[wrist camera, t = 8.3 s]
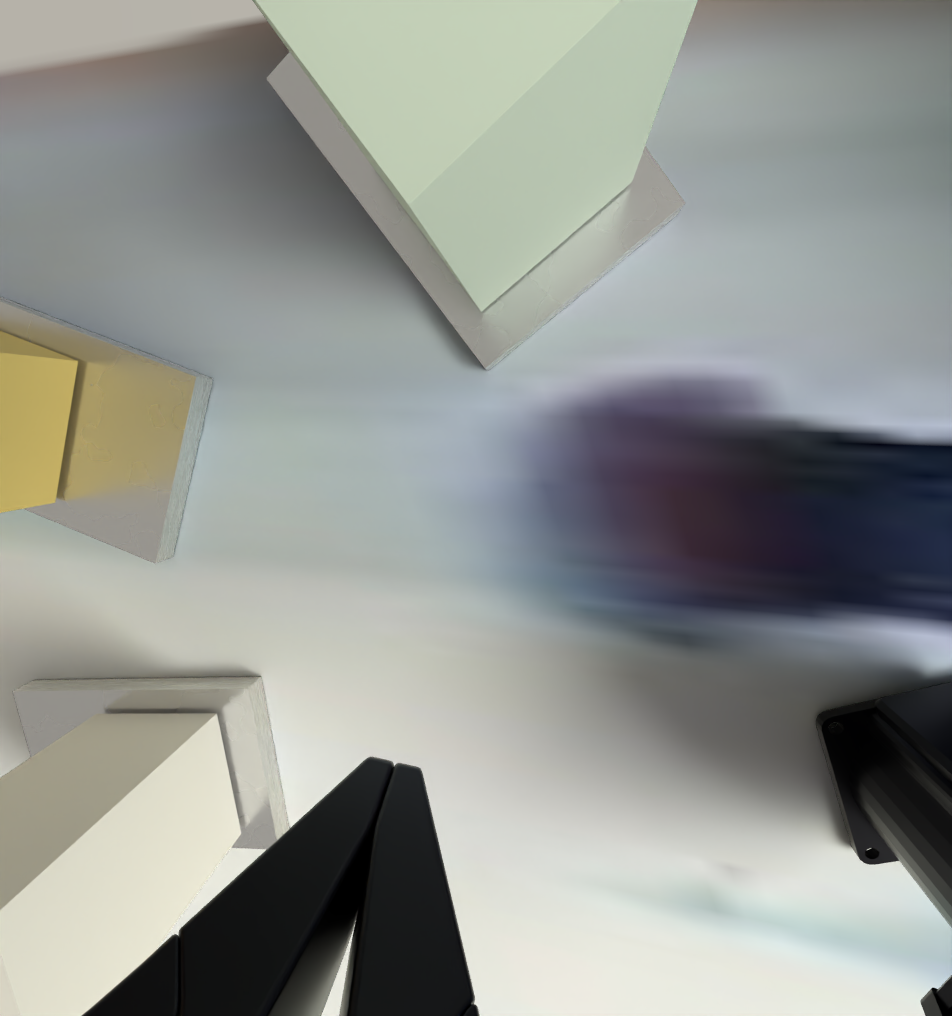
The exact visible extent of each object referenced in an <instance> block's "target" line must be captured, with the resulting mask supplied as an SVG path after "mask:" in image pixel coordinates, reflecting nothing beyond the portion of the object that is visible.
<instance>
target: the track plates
mask: <svg viewBox="0 0 952 1016" xmlns="http://www.w3.org/2000/svg"><path fill="white" fill-rule="evenodd" d="M266 79H267V80H268V82H269V83H270V84H271V86H272V87H273V88H274V90H275V91H276V92H277V94H278V95H279V96H280V98H281V99H282V100H283V102H284V103H285V104H286V106H287V107H288V108H289V110H290V111H291V112H292V114H293V115H294V116H295V118H296V119H297V120H298V122H299V123H300V124H301V126H302V127H303V128H304V129H305V131H306V132H307V133H308V135H309V136H310V137H311V139H312V140H313V141H314V143H315V144H316V145H317V147H318V148H319V149H320V151H321V152H322V153H323V155H324V156H325V157H326V159H327V160H328V161H329V163H330V164H331V165H332V167H333V168H334V169H335V171H336V172H337V173H338V175H339V176H340V177H341V179H342V180H343V181H344V182H345V184H346V185H347V186H348V188H349V189H350V190H351V192H352V193H353V194H354V196H355V197H356V198H357V200H358V201H359V202H360V204H361V205H362V206H363V208H364V209H365V210H366V212H367V213H368V214H369V216H370V217H371V218H372V220H373V221H374V222H375V224H376V225H377V226H378V228H379V229H380V230H381V231H382V233H383V234H384V235H385V237H386V238H387V239H388V241H389V242H390V243H391V245H392V246H393V247H394V249H395V250H396V251H397V253H398V254H399V255H400V257H401V258H402V259H403V261H404V262H405V263H406V265H407V266H408V267H409V269H410V270H411V271H412V273H413V274H414V275H415V277H416V278H417V279H418V280H419V282H420V283H421V284H422V286H423V287H424V288H425V290H426V291H427V292H428V294H429V295H430V296H431V298H432V299H433V300H434V302H435V303H436V304H437V306H438V307H439V308H440V310H441V311H442V312H443V314H444V315H445V316H446V318H447V319H448V320H449V322H450V323H451V324H452V326H453V327H454V328H455V330H456V331H457V332H458V333H459V335H460V336H461V337H462V339H463V340H464V341H465V343H466V344H467V345H468V347H469V348H470V349H471V351H472V352H473V353H474V355H475V356H476V357H477V359H478V360H479V361H480V363H481V364H482V365H483V367H484V368H485V369H486V370H488V371H489V370H490V369H491V368H492V367H494V366H495V365H496V364H497V363H499V362H500V361H501V360H502V359H503V358H505V357H506V356H507V355H508V354H509V353H511V352H512V351H513V350H514V349H516V348H517V347H518V346H519V345H520V344H522V343H523V342H524V341H525V340H526V339H528V338H529V337H530V336H531V335H533V334H534V333H535V332H536V331H537V330H539V329H540V328H541V327H542V326H543V325H545V324H546V323H547V322H548V321H550V320H551V319H552V318H553V317H554V316H556V315H557V314H558V313H559V312H560V311H562V310H563V309H564V308H565V307H567V306H568V305H569V304H570V303H571V302H573V301H574V300H575V299H576V298H577V297H579V296H580V295H581V294H582V293H584V292H585V291H586V290H587V289H588V288H590V287H591V286H592V285H593V284H594V283H596V282H597V281H598V280H599V279H600V278H602V277H603V276H604V275H605V274H607V273H608V272H609V271H610V270H611V269H613V268H614V267H615V266H616V265H617V264H619V263H620V262H621V261H622V260H624V259H625V258H626V257H627V256H628V255H630V254H631V253H632V252H633V251H634V250H636V249H637V248H638V247H639V246H641V245H642V244H643V243H644V242H645V241H647V240H648V239H649V238H650V237H651V236H653V235H654V234H655V233H656V232H658V231H659V230H660V229H661V228H662V227H664V226H665V225H666V224H667V223H668V222H670V221H671V220H672V219H673V218H675V217H676V216H677V215H678V213H679V212H680V210H681V209H682V207H683V206H684V204H685V202H684V200H683V199H682V197H681V196H680V195H679V193H678V192H677V190H676V189H675V188H674V186H673V185H672V183H671V182H670V180H669V179H668V178H667V176H666V175H665V173H664V172H663V171H662V169H661V168H660V166H659V165H658V163H657V162H656V161H655V159H654V158H653V156H652V155H651V154H650V152H649V151H648V149H647V148H646V146H645V147H644V150H643V153H642V156H641V159H640V161H639V164H638V167H637V170H636V172H635V175H634V178H633V181H632V183H630V184H629V185H628V186H627V187H626V188H625V189H623V190H622V191H621V192H620V193H619V194H618V195H616V196H615V197H614V198H613V199H612V200H611V201H609V202H608V203H607V204H606V205H605V206H604V207H602V208H601V209H600V210H599V211H598V212H597V213H596V214H594V215H593V216H592V217H591V218H590V219H589V220H587V221H586V222H585V223H584V224H583V225H582V226H580V227H579V228H578V229H577V230H576V231H575V232H573V233H572V234H571V235H570V236H569V237H568V238H567V239H565V240H564V241H563V242H562V243H561V244H560V245H558V246H557V247H556V248H555V249H554V250H553V251H551V252H550V253H549V254H548V255H547V256H546V257H544V258H543V259H542V260H541V261H540V262H539V263H538V264H536V265H535V266H534V267H533V268H532V269H531V270H529V271H528V272H527V273H526V274H525V275H524V276H522V277H521V278H520V279H519V280H518V281H517V282H515V283H514V284H513V285H512V286H511V287H510V288H508V289H507V290H506V291H505V292H504V293H503V294H502V295H500V296H499V297H498V298H497V299H496V300H495V301H493V302H492V303H491V304H490V305H489V306H488V307H486V308H485V309H484V310H483V311H482V312H481V311H480V309H479V308H478V307H477V305H476V304H475V303H474V301H473V300H472V299H471V297H470V296H469V295H468V293H467V292H466V291H465V289H464V288H463V287H462V285H461V284H460V283H459V281H458V280H457V279H456V277H455V276H454V275H453V273H452V272H451V271H450V269H449V268H448V267H447V265H446V264H445V263H444V261H443V260H442V259H441V257H440V256H439V255H438V253H437V252H436V251H435V249H434V248H433V247H432V245H431V244H430V243H429V241H428V240H427V239H426V237H425V236H424V235H423V233H422V232H421V231H420V229H419V228H418V227H417V225H416V224H415V223H414V221H413V220H412V219H411V217H410V216H409V215H408V213H407V212H406V211H405V209H404V208H403V207H402V205H401V204H400V203H399V201H398V200H397V199H396V197H395V196H394V195H393V193H392V192H391V191H390V189H389V188H388V187H387V185H386V184H385V183H384V181H383V180H382V179H381V177H380V176H379V175H378V173H377V172H376V171H375V169H374V168H373V167H372V165H371V164H370V163H369V161H368V160H367V158H366V157H365V156H364V154H363V153H362V151H361V150H360V149H359V147H358V146H357V144H356V143H355V142H354V140H353V139H352V138H351V136H350V135H349V133H348V132H347V131H346V129H345V128H344V126H343V125H342V124H341V122H340V121H339V120H338V118H337V117H336V115H335V114H334V113H333V111H332V110H331V108H330V107H329V106H328V104H327V103H326V101H325V100H324V99H323V97H322V96H321V95H320V93H319V92H318V90H317V89H316V88H315V86H314V85H313V83H312V82H311V81H310V79H309V78H308V77H307V75H306V74H305V72H304V71H303V70H302V68H301V67H300V65H299V64H298V63H297V61H296V60H295V59H294V57H293V56H292V54H291V53H290V52H289V53H288V54H287V55H286V56H285V58H284V59H283V60H282V61H281V62H280V63H279V64H278V65H277V67H276V68H275V69H274V70H273V71H272V72H271V73H270V75H269V76H268V77H267V78H266ZM0 331H2V332H5V333H8V334H10V335H13V336H15V337H18V338H20V339H23V340H25V341H28V342H31V343H33V344H36V345H38V346H41V347H43V348H46V349H49V350H51V351H54V352H56V353H59V354H61V355H64V356H67V357H69V358H72V359H74V360H77V361H78V365H77V371H76V377H75V384H74V390H73V396H72V402H71V408H70V414H69V421H68V427H67V433H66V439H65V445H64V451H63V458H62V464H61V470H60V476H59V482H58V489H57V495H56V501H55V503H51V504H45V505H40V506H34V507H29V508H24V509H25V510H28V511H30V512H33V513H35V514H37V515H40V516H42V517H45V518H47V519H49V520H52V521H54V522H57V523H59V524H61V525H64V526H66V527H69V528H71V529H74V530H76V531H78V532H81V533H83V534H86V535H88V536H90V537H93V538H95V539H98V540H100V541H102V542H105V543H107V544H110V545H112V546H114V547H117V548H119V549H122V550H124V551H126V552H129V553H131V554H134V555H136V556H138V557H141V558H143V559H146V560H148V561H150V562H153V563H155V564H156V563H158V562H161V561H163V560H166V559H169V558H171V557H173V555H174V550H175V546H176V542H177V537H178V533H179V528H180V524H181V520H182V515H183V511H184V506H185V502H186V497H187V493H188V489H189V484H190V480H191V475H192V471H193V466H194V462H195V458H196V453H197V449H198V444H199V440H200V436H201V431H202V427H203V422H204V418H205V413H206V409H207V405H208V400H209V396H210V391H211V387H212V383H213V378H210V377H208V376H205V375H202V374H200V373H197V372H195V371H192V370H189V369H187V368H184V367H182V366H179V365H176V364H174V363H171V362H169V361H166V360H163V359H161V358H158V357H156V356H153V355H150V354H148V353H145V352H143V351H140V350H137V349H135V348H132V347H130V346H127V345H124V344H122V343H119V342H117V341H114V340H111V339H109V338H106V337H104V336H101V335H98V334H96V333H93V332H91V331H88V330H85V329H83V328H80V327H78V326H75V325H72V324H70V323H67V322H65V321H62V320H59V319H57V318H54V317H52V316H49V315H46V314H44V313H41V312H39V311H36V310H33V309H31V308H28V307H26V306H23V305H20V304H18V303H15V302H13V301H10V300H7V299H5V298H2V297H0ZM12 692H13V695H14V699H15V703H16V706H17V710H18V713H19V717H20V720H21V724H22V727H23V731H24V734H25V738H26V742H27V745H28V749H29V752H30V756H31V757H32V756H34V755H35V754H37V753H38V752H40V751H41V750H43V749H44V748H46V747H47V746H49V745H50V744H52V743H53V742H55V741H56V740H58V739H59V738H61V737H62V736H64V735H65V734H67V733H68V732H70V731H71V730H73V729H74V728H76V727H77V726H79V725H80V724H82V723H83V722H85V721H86V720H88V719H89V718H91V717H92V716H94V715H95V714H171V713H217V717H218V722H219V726H220V731H221V736H222V741H223V746H224V751H225V756H226V761H227V766H228V770H229V775H230V780H231V785H232V790H233V795H234V800H235V805H236V810H237V814H238V819H239V824H240V829H241V835H240V836H239V838H238V839H237V840H236V842H235V843H234V844H233V846H232V847H231V848H252V849H268V848H269V847H270V846H271V845H272V844H273V843H275V842H276V841H277V840H278V839H279V838H280V837H281V836H282V835H283V834H284V833H286V832H287V831H288V830H289V825H288V819H287V814H286V808H285V803H284V798H283V792H282V787H281V781H280V776H279V770H278V765H277V760H276V754H275V749H274V743H273V738H272V733H271V727H270V722H269V716H268V711H267V706H266V700H265V695H264V689H263V684H262V678H261V677H206V678H140V679H73V680H33V681H31V682H29V683H27V684H25V685H24V686H22V687H20V688H18V689H16V690H14V691H12Z"/></svg>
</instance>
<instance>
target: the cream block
mask: <svg viewBox="0 0 952 1016" xmlns="http://www.w3.org/2000/svg"><path fill="white" fill-rule="evenodd" d="M240 835H241V829H240V824H239V819H238V814H237V810H236V805H235V800H234V795H233V790H232V785H231V780H230V775H229V770H228V766H227V761H226V756H225V751H224V746H223V741H222V736H221V731H220V726H219V722H218V717H217V713H171V714H95V715H94V716H92V717H91V718H89V719H88V720H86V721H85V722H83V723H82V724H80V725H79V726H77V727H76V728H74V729H73V730H71V731H70V732H68V733H67V734H65V735H64V736H62V737H61V738H59V739H58V740H56V741H55V742H53V743H52V744H50V745H49V746H47V747H46V748H44V749H43V750H41V751H40V752H38V753H37V754H35V755H34V756H32V757H31V758H29V759H28V760H26V761H25V762H23V763H22V764H20V765H19V766H17V767H16V768H14V769H13V770H11V771H10V772H8V773H7V774H5V775H4V776H2V777H1V778H0V1016H82V1015H83V1014H84V1013H85V1012H87V1011H88V1010H89V1009H90V1008H91V1007H92V1006H94V1005H95V1004H96V1003H97V1002H98V1001H99V1000H101V999H102V998H103V997H104V996H105V995H106V994H107V993H109V992H110V991H111V990H112V989H113V988H114V987H115V986H117V985H118V984H119V983H120V982H121V981H122V980H123V979H125V978H126V977H127V976H128V975H129V974H130V973H131V972H133V971H134V970H135V969H136V968H137V967H138V966H139V965H141V964H142V963H143V962H144V961H145V960H146V959H147V958H148V957H149V956H150V955H152V954H153V953H154V952H155V951H156V950H157V949H158V947H159V946H160V945H161V943H162V942H163V941H164V939H165V938H166V936H167V935H168V934H169V932H170V931H171V930H172V928H173V927H174V925H175V924H176V923H177V921H178V920H179V919H180V917H181V916H182V914H183V913H184V912H185V910H186V909H187V908H188V906H189V905H190V903H191V902H192V901H193V899H194V898H195V897H196V895H197V894H198V893H199V891H200V890H201V888H202V887H203V886H204V884H205V883H206V882H207V880H208V879H209V877H210V876H211V875H212V873H213V872H214V871H215V869H216V868H217V866H218V865H219V864H220V862H221V861H222V860H223V858H224V857H225V855H226V854H227V853H228V851H229V850H230V849H231V847H232V846H233V844H234V843H235V842H236V840H237V839H238V838H239V836H240Z"/></svg>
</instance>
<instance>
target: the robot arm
mask: <svg viewBox="0 0 952 1016" xmlns="http://www.w3.org/2000/svg"><path fill="white" fill-rule="evenodd" d="M834 722H838V723H837V725H836V726H835V727H833V728H829V726H830V724H832V723H834ZM816 726H817V730H818V733H819V736H820V740H821V743H822V747H823V750H824V753H825V757H826V760H827V764H828V767H829V771H830V774H831V777H832V781H833V784H834V788H835V791H836V794H837V798H838V801H839V805H840V808H841V811H842V815H843V818H844V822H845V825H846V828H847V832H848V835H849V839H850V842H851V845H852V848H853V850H854V851H855V853H856V854H857V856H858V857H859V859H860V860H861V861H863V862H864V863H866V864H881V863H887V862H893V861H900V862H901V863H902V865H903V866H904V867H905V868H906V870H907V871H908V872H909V874H910V875H911V876H912V877H913V879H914V880H915V881H916V883H917V884H918V885H919V886H920V888H921V889H922V890H923V892H924V893H925V894H926V895H927V897H928V898H929V899H930V901H931V902H932V903H933V904H934V906H935V907H936V908H937V910H938V911H939V912H940V913H941V915H942V916H943V917H944V918H945V920H946V921H947V922H948V924H949V925H950V926H951V927H952V682H950V683H945V684H941V685H936V686H932V687H927V688H923V689H918V690H914V691H909V692H905V693H900V694H896V695H891V696H887V697H882V698H880V699H876V700H871V701H867V702H862V703H858V704H853V705H849V706H844V707H840V708H835V709H831V710H826V711H824V712H822V713H821V714H819V715H818V717H817V719H816ZM869 848H871V849H869ZM867 849H869V850H867ZM355 921H356V922H355ZM354 924H355V928H354ZM353 928H354V933H353V938H352V943H351V948H350V954H349V960H348V966H347V972H346V978H345V984H344V990H343V996H342V1002H341V1008H340V1014H339V1016H479V1011H478V1007H477V1006H476V1005H475V1004H474V1001H475V996H474V991H473V987H472V983H471V979H470V974H469V970H468V966H467V962H466V957H465V953H464V949H463V944H462V940H461V936H460V932H459V927H458V923H457V919H456V915H455V910H454V906H453V902H452V897H451V893H450V889H449V885H448V880H447V876H446V872H445V868H444V863H443V859H442V855H441V850H440V846H439V842H438V838H437V833H436V829H435V825H434V821H433V816H432V812H431V808H430V803H429V799H428V795H427V791H426V786H425V782H424V778H423V774H422V771H421V769H420V768H419V767H416V766H411V765H407V764H402V763H397V764H396V765H395V766H394V764H393V762H392V761H389V760H385V759H380V758H376V757H368V758H367V759H366V760H364V761H363V762H362V763H361V764H360V765H359V766H358V767H357V768H356V769H355V770H353V771H352V772H351V773H350V774H349V775H348V776H347V777H346V778H345V779H344V780H342V781H341V782H340V783H339V784H338V785H337V786H336V787H335V788H334V789H333V790H332V791H330V792H329V793H328V794H327V795H326V796H325V797H324V798H323V799H322V800H321V801H319V802H318V803H317V804H316V805H315V806H314V807H313V808H312V809H311V810H310V811H309V812H307V813H306V814H305V815H304V816H303V817H302V818H301V819H300V820H299V821H298V822H296V823H295V824H294V825H293V826H292V827H291V828H290V829H289V830H288V831H287V832H286V833H284V834H283V835H282V836H281V837H280V838H279V839H278V840H277V841H276V842H275V843H273V844H272V845H271V846H270V847H269V848H268V849H267V850H266V851H265V852H264V853H263V854H261V855H260V856H259V857H258V858H257V859H256V860H255V861H254V862H253V863H252V864H250V865H249V866H248V867H247V868H246V869H245V870H244V871H243V872H242V873H241V874H240V875H238V876H237V877H236V878H235V879H234V880H233V881H232V882H231V883H230V884H229V885H227V886H226V887H225V888H224V889H223V890H222V891H221V892H220V893H219V894H218V895H217V896H215V897H214V898H213V899H212V900H211V901H210V902H209V903H208V904H207V905H206V906H204V907H203V908H202V909H201V910H200V911H199V912H198V913H197V914H196V915H195V916H194V917H192V918H191V919H190V920H189V921H188V922H187V923H186V924H185V925H184V926H183V927H181V929H180V930H179V936H178V935H176V934H174V935H172V936H171V937H170V938H169V939H168V940H167V941H166V942H165V943H163V944H162V945H161V946H160V947H159V948H158V949H157V950H156V951H155V952H154V953H153V954H152V955H150V956H149V957H148V958H147V959H146V960H145V961H144V962H143V963H142V964H141V965H139V966H138V967H137V968H136V969H135V970H134V971H133V972H131V973H130V974H129V975H128V976H127V977H126V978H125V979H123V980H122V981H121V982H120V983H119V984H118V985H117V986H115V987H114V988H113V989H112V990H111V991H110V992H109V993H107V994H106V995H105V996H104V997H103V998H102V999H101V1000H99V1001H98V1002H97V1003H96V1004H95V1005H94V1006H92V1007H91V1008H90V1009H89V1010H88V1011H87V1012H85V1013H84V1014H83V1015H82V1016H321V1015H322V1012H323V1009H324V1007H325V1004H326V1002H327V999H328V996H329V994H330V991H331V988H332V986H333V983H334V980H335V978H336V975H337V973H338V970H339V967H340V965H341V962H342V959H343V957H344V954H345V951H346V948H347V946H348V943H349V940H350V937H351V934H352V931H353ZM921 1005H922V1007H923V1010H924V1013H925V1015H926V1016H952V975H951V976H950V977H949V978H948V979H947V980H946V981H945V983H944V984H943V985H942V986H941V987H940V988H939V989H936V988H932V989H931V990H930V991H929V992H928V993H927V994H926V995H925V996H924V997H923V998H922V1000H921Z"/></svg>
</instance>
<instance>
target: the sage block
mask: <svg viewBox="0 0 952 1016" xmlns="http://www.w3.org/2000/svg"><path fill="white" fill-rule="evenodd" d="M697 1H698V0H253V2H254V3H255V4H256V6H257V7H258V9H259V10H260V11H261V13H262V14H263V16H264V17H265V18H266V20H267V21H268V22H269V24H270V25H271V27H272V28H273V29H274V31H275V32H276V34H277V35H278V36H279V38H280V39H281V40H282V42H283V43H284V45H285V46H286V47H287V49H288V50H289V52H290V53H291V54H292V56H293V57H294V59H295V60H296V61H297V63H298V64H299V65H300V67H301V68H302V70H303V71H304V72H305V74H306V75H307V77H308V78H309V79H310V81H311V82H312V83H313V85H314V86H315V88H316V89H317V90H318V92H319V93H320V95H321V96H322V97H323V99H324V100H325V101H326V103H327V104H328V106H329V107H330V108H331V110H332V111H333V113H334V114H335V115H336V117H337V118H338V120H339V121H340V122H341V124H342V125H343V126H344V128H345V129H346V131H347V132H348V133H349V135H350V136H351V138H352V139H353V140H354V142H355V143H356V144H357V146H358V147H359V149H360V150H361V151H362V153H363V154H364V156H365V157H366V158H367V160H368V161H369V163H370V164H371V165H372V167H373V168H374V169H375V171H376V172H377V173H378V175H379V176H380V177H381V179H382V180H383V181H384V183H385V184H386V185H387V187H388V188H389V189H390V191H391V192H392V193H393V195H394V196H395V197H396V199H397V200H398V201H399V203H400V204H401V205H402V207H403V208H404V209H405V211H406V212H407V213H408V215H409V216H410V217H411V219H412V220H413V221H414V223H415V224H416V225H417V227H418V228H419V229H420V231H421V232H422V233H423V235H424V236H425V237H426V239H427V240H428V241H429V243H430V244H431V245H432V247H433V248H434V249H435V251H436V252H437V253H438V255H439V256H440V257H441V259H442V260H443V261H444V263H445V264H446V265H447V267H448V268H449V269H450V271H451V272H452V273H453V275H454V276H455V277H456V279H457V280H458V281H459V283H460V284H461V285H462V287H463V288H464V289H465V291H466V292H467V293H468V295H469V296H470V297H471V299H472V300H473V301H474V303H475V304H476V305H477V307H478V308H479V309H480V311H481V312H482V311H483V310H484V309H485V308H486V307H488V306H489V305H490V304H491V303H492V302H493V301H495V300H496V299H497V298H498V297H499V296H500V295H502V294H503V293H504V292H505V291H506V290H507V289H508V288H510V287H511V286H512V285H513V284H514V283H515V282H517V281H518V280H519V279H520V278H521V277H522V276H524V275H525V274H526V273H527V272H528V271H529V270H531V269H532V268H533V267H534V266H535V265H536V264H538V263H539V262H540V261H541V260H542V259H543V258H544V257H546V256H547V255H548V254H549V253H550V252H551V251H553V250H554V249H555V248H556V247H557V246H558V245H560V244H561V243H562V242H563V241H564V240H565V239H567V238H568V237H569V236H570V235H571V234H572V233H573V232H575V231H576V230H577V229H578V228H579V227H580V226H582V225H583V224H584V223H585V222H586V221H587V220H589V219H590V218H591V217H592V216H593V215H594V214H596V213H597V212H598V211H599V210H600V209H601V208H602V207H604V206H605V205H606V204H607V203H608V202H609V201H611V200H612V199H613V198H614V197H615V196H616V195H618V194H619V193H620V192H621V191H622V190H623V189H625V188H626V187H627V186H628V185H629V184H630V183H632V181H633V178H634V175H635V172H636V170H637V167H638V164H639V161H640V159H641V156H642V153H643V150H644V147H645V145H646V142H647V139H648V136H649V134H650V131H651V128H652V125H653V123H654V120H655V117H656V114H657V111H658V109H659V106H660V103H661V100H662V98H663V95H664V92H665V89H666V87H667V84H668V81H669V78H670V76H671V73H672V70H673V67H674V64H675V62H676V59H677V56H678V53H679V51H680V48H681V45H682V42H683V40H684V37H685V34H686V31H687V28H688V26H689V23H690V20H691V17H692V15H693V12H694V9H695V6H696V4H697Z"/></svg>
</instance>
